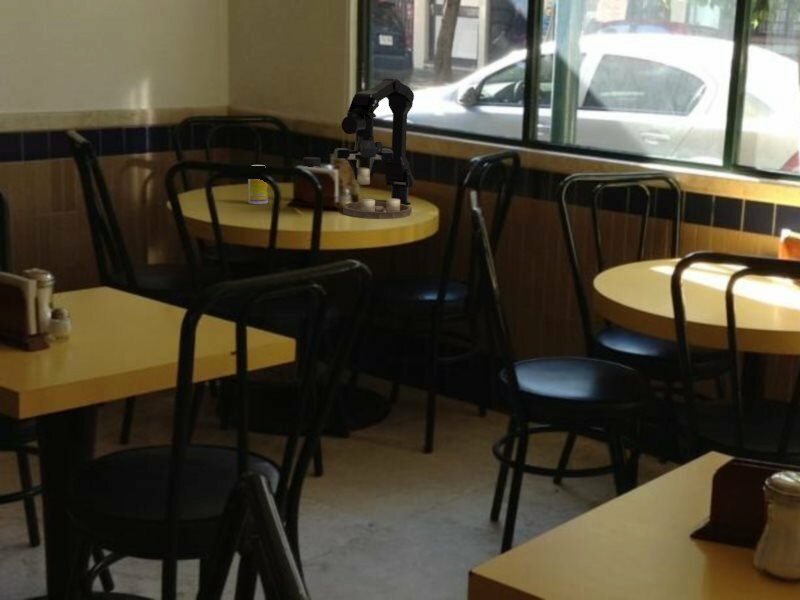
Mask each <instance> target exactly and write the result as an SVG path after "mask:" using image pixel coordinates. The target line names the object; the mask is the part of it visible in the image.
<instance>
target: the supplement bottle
mask: <svg viewBox="0 0 800 600" xmlns="http://www.w3.org/2000/svg"><path fill="white" fill-rule="evenodd" d="M251 166H265V165H263V164H253V165H251ZM247 181H248V183H247V187H248V189H247V195H248V196H247V198H248V199H247V200H248V201H247V202H248V204H251V205H256V206H257V205H260V206H261V205H266V204H268V202H269V190H268V189H269V183H268V184H267V183H266V182H264V181H263V180H260V179H247Z"/></svg>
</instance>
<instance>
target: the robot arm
mask: <svg viewBox="0 0 800 600" xmlns="http://www.w3.org/2000/svg"><path fill="white" fill-rule="evenodd" d="M385 98H386V99H387V101H388V107H389V109H390V111H391V113H392V131H391V133H392V134H391V148H386V147H384V148H383V142H382V141H376V142H375V141H374V140H375V139H374V137H375V136H374V118H377V115H376V113H375V111H376V110H377V109H378V108H379V106H380V102H381V101H382V100H384V99H385ZM414 99H415V94H414V92H413V91H412V89H411V88H410V87H409V86H407V85H406V84H404V83H402V82H401V81H400V80H399V79H398V78H387V77H386V78H384V79H383V80H382V81H381V82H379V83H378V84H377V85H375V86H374V87H372V88H370V89H369V90H363V91H359V92H356V93H355V94H354V96H353V97H352V100H351V102H350V105H349V108H348V111H347V114H346V115H347V116H345V117H344V118H343V119H342V121H341V125H340V126H341V129H342V131H343V133H345V134H347V135H354V138H355V144H354V150H350V149H348V148H347V147H345V148H344V147H340V148H339V147H336V148H334V151H333V157H334V158H336V159H339V160H341V159H344V160H345V161H347V162H348V164H349V166H350V168H351V171H352V175H353V177H354V180H355V181H356V180H357V168H358V167H357V166H358V165H357V163H358V159H357V158H356V157H362V158H369V165H368V168H370V181H371V180H372V179H373V176H374V173H375V171H376V168H377V166H378V164H379V163H381V162H383V159H386V161H385V164H384V165H385V170H384V179H385V185H386V186H391V197H390V199H400V204H404V205H411V202H410V201H409V200H408V198H409V188H413V187H414V186H415V181H416V180H415V178H414V176H413V174H412V172H411V164H410V162H409V160H408V159H407V157H406V155H407V153H406V152H407V151H406V150H407V126H408V113H409V112H410V111H411V109H412V108H413V103H414ZM382 158H383V159H382ZM387 159H388V161H387Z"/></svg>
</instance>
